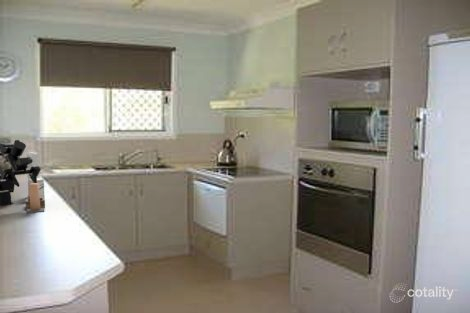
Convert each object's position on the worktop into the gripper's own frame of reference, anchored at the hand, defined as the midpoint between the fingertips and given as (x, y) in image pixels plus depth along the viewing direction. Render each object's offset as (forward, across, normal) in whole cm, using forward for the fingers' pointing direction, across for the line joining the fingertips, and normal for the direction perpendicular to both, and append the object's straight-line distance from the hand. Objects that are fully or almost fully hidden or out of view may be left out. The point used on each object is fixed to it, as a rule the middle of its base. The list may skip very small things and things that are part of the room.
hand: (27, 185), depth 242 cm
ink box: (-9, +19, +27) cm, 34 cm away
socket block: (+6, +6, +11) cm, 14 cm away
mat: (+13, 0, +4) cm, 14 cm away
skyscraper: (-18, +24, +36) cm, 46 cm away
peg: (+13, 0, +4) cm, 13 cm away
